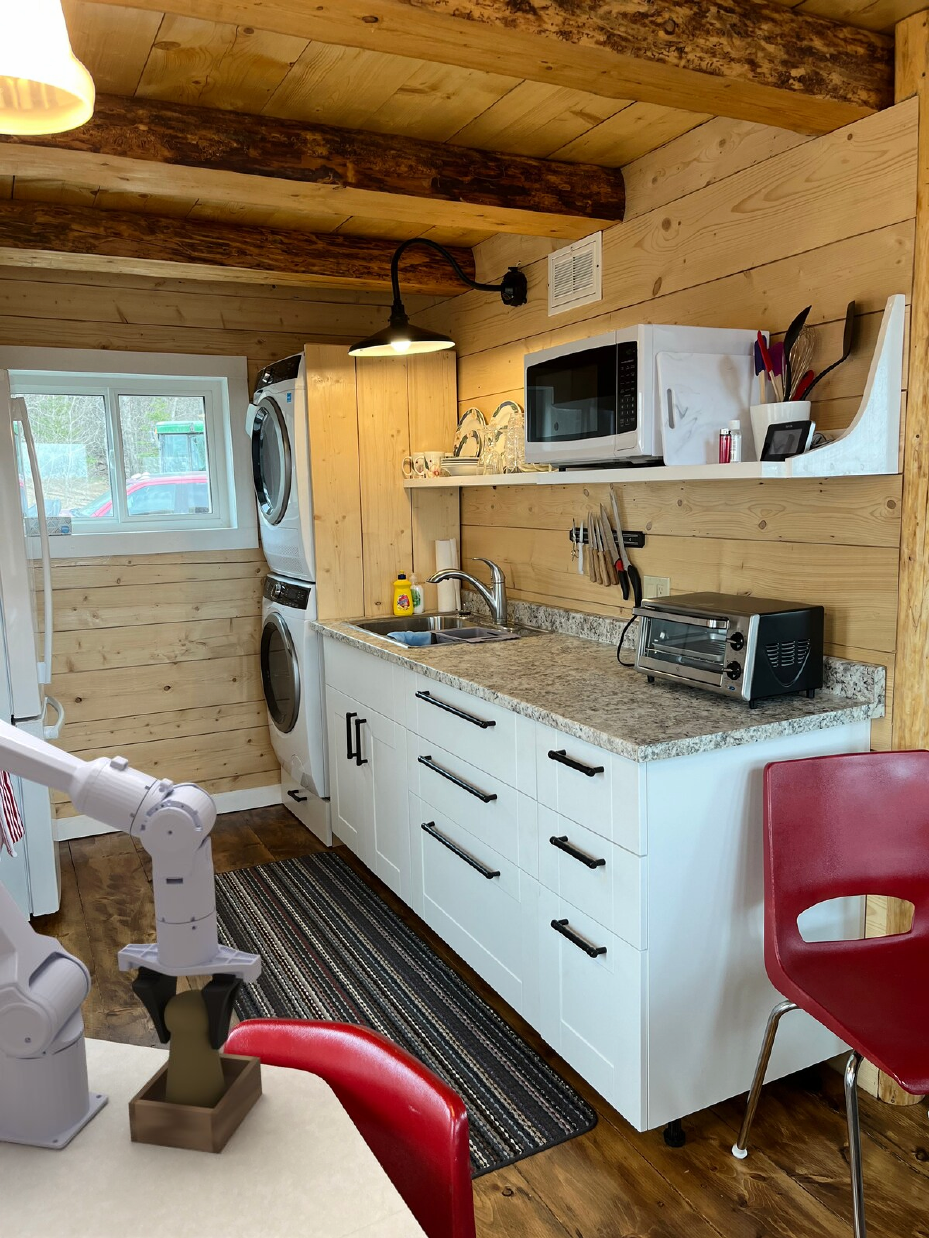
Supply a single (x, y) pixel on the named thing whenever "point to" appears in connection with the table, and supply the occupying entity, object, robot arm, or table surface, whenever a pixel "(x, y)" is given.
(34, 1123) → the robot arm
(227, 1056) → the walnut stand
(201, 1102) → the olive game pawn
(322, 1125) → the table surface
